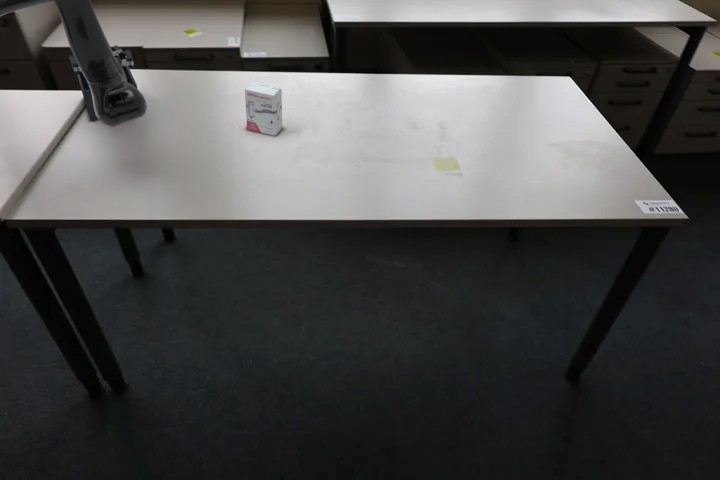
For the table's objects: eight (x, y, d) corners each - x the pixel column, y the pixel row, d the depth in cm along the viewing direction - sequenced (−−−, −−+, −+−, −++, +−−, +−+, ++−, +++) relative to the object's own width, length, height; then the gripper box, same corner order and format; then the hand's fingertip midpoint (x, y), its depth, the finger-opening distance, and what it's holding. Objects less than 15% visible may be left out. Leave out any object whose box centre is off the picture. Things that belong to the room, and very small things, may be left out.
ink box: (245, 129, 139) (242, 88, 131) (253, 121, 143) (251, 80, 135) (275, 136, 138) (274, 95, 130) (282, 128, 141) (282, 87, 133)
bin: (90, 120, 136) (81, 91, 131) (84, 99, 144) (75, 70, 139) (142, 113, 141) (136, 84, 136) (133, 92, 150) (127, 64, 144)
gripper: (136, 57, 123) (124, 33, 133) (70, 64, 117) (63, 38, 128) (142, 86, 128) (130, 61, 138) (79, 95, 122) (72, 68, 133)
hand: (98, 50), depth 133 cm, fingers open, 8 cm apart
